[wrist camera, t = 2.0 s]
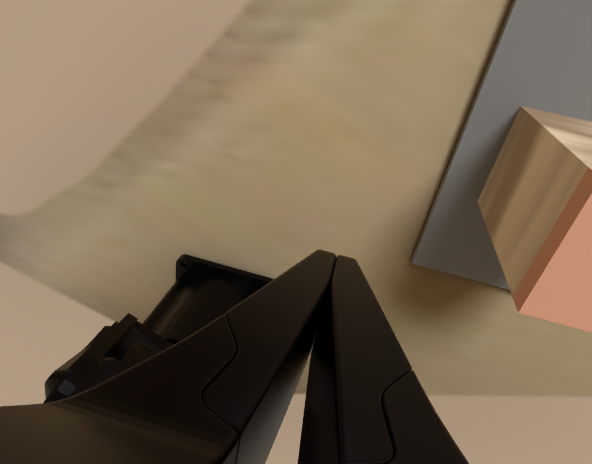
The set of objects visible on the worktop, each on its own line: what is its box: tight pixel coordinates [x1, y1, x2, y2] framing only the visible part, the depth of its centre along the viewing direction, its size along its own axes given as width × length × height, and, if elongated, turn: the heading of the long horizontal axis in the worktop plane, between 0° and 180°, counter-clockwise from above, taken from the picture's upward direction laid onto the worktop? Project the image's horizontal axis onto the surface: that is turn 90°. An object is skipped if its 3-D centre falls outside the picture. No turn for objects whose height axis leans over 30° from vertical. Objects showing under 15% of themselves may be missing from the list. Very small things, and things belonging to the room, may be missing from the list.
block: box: [477, 106, 592, 332], centre depth 14 cm, size 4×4×8 cm
